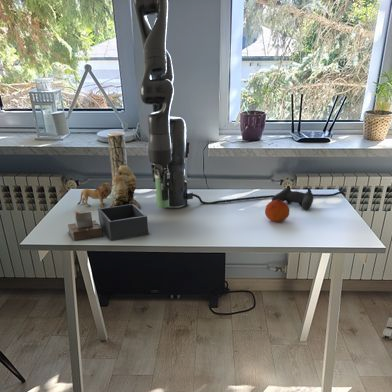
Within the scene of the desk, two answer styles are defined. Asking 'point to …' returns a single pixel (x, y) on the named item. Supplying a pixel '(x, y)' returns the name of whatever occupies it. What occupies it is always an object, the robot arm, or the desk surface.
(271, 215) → the fruit
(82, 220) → the tap knob
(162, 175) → the robot arm
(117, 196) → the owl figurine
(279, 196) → the gaming controller
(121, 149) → the birch log
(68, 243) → the desk surface
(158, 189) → the green tube
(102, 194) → the lion figurine
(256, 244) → the desk surface
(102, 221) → the gray open box
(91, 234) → the panel
